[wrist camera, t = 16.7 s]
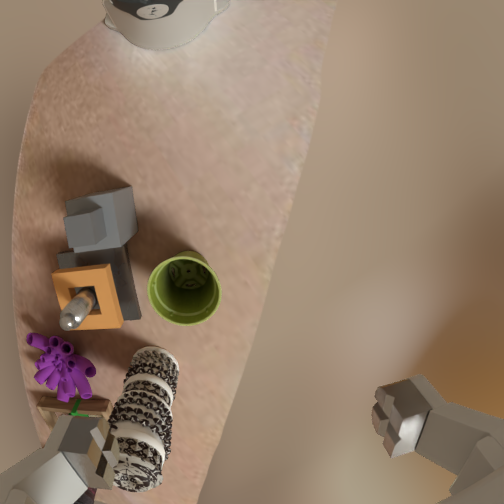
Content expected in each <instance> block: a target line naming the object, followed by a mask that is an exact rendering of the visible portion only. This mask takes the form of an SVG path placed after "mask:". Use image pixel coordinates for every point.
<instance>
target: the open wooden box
mask: <svg viewBox="0 0 504 504" xmlns="http://www.w3.org/2000/svg"><path fill="white" fill-rule="evenodd" d="M79 400H81V402H80V404H79V406H78V408H77V412H78V414H87V415H103V417H104V419H106V420H107V421H108V419H109V416H110V415H111V412H112V411H113V406H112V403H111V401H110V400H87V399H79ZM76 401H77V399H69V401H68V402H64V401H60V400H58V399H57V398H56V397H44V396H42V398H41V400H40V401H39V403H38V405H37V408H38V410H39V412H40V413H41V415H42V417H43V419H44V420H45V422H46V424H47V425H48V427H49V429H50V430H51V432H52V430H53V428H54V426H55V424H56V422H57V420H58V418H57V416H56V414H55V412H62V413H71V411H72V409H73V407H74V405H75V403H76Z"/></svg>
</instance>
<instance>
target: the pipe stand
mask: <svg viewBox="0 0 504 504" xmlns="http://www.w3.org/2000/svg"><path fill="white" fill-rule="evenodd" d="M56 255H57V259H58V264H59V268H60V269H66V268H74V267H83V266H92V265H100V264H109V263H110V267H111V271H112V276H113V280H114V285H115V289H116V293H117V297H118V301H119V305H120V309H121V313H122V316H123V320H139V319H141V316H142V315H141V311H140V307H139V303H138V298H137V294H136V290H135V285H134V280H133V276H132V271H131V266H130V261H129V256H128V250H127V245H126V244H124V245H123V246H122V247H117V248H109V249H101V250H94V251H86V252H78V253H74V250H73V251H65V252H59V253H58V254H56ZM74 288H75V291H76V296H75V297H74V298H73V299H72V300H71V301H70V302H69V303H68V304H67V305H66V306H65V308H64V309H63V310H62V311H61V313H60V321H59V324H60V326H61V328H62V329H63V330H66V331H69V330H71V329H76V328H78V327H79V326H80V324H81V323H82V322H83V320H84V319H85V318H86V316H87V315H88V314H89V312H90V311H91V310H92V309H100V306H99V302H98V298H97V295H96V291H95V287H94V286H85V287H74Z"/></svg>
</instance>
